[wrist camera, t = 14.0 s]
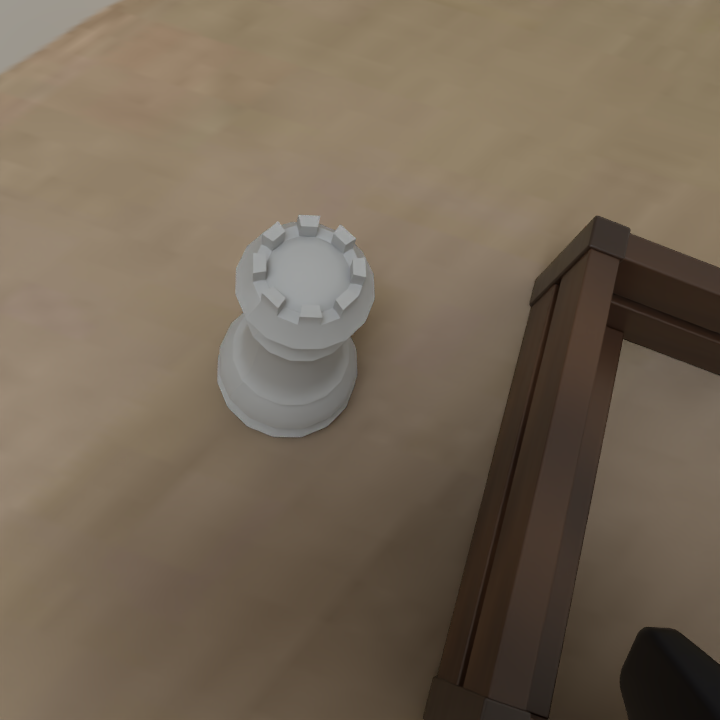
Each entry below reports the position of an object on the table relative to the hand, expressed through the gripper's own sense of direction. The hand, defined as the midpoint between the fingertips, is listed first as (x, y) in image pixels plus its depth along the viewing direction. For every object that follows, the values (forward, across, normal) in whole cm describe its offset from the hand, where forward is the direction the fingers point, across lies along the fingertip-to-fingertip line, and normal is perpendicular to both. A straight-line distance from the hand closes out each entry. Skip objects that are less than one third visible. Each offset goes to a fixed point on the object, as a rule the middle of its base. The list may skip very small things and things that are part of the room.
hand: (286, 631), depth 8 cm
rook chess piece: (+14, 0, +4) cm, 15 cm away
